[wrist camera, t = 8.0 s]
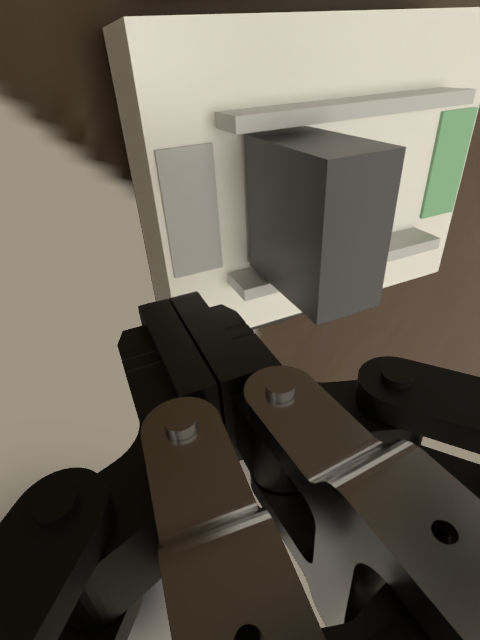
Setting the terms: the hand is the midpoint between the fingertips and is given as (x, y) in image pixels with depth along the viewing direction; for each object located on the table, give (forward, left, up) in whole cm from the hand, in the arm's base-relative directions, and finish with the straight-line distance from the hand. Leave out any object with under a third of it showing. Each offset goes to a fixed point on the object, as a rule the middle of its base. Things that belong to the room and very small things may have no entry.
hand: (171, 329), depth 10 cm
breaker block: (+11, 0, -13) cm, 17 cm away
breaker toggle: (+7, 0, -8) cm, 11 cm away
